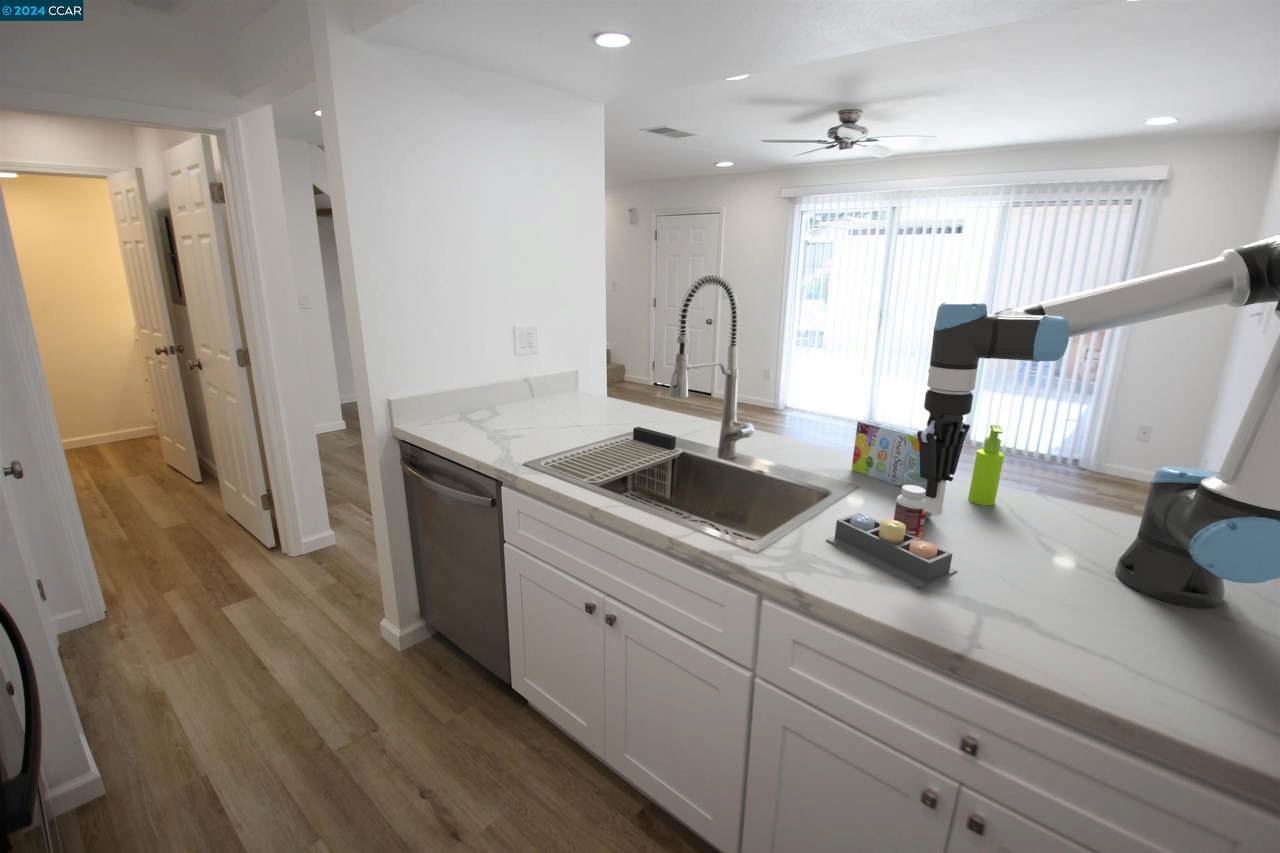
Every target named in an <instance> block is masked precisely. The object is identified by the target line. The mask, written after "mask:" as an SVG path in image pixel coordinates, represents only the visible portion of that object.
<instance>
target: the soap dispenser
mask: <svg viewBox="0 0 1280 853" xmlns="http://www.w3.org/2000/svg"><path fill="white" fill-rule="evenodd" d="M989 428H990V433H989V436H987V437H985V438H984V443H983V448H979V449H977V450H976V456H975V458H974V459H975V460H974V466H973V470H972V475H971V476H972V477H971V481H970V487H969V492H968V496H967V497H968V498H967V499H968V501H970V502H971V503H974V505H975V504H976V505H979V506H985V507H986V506H987V507H989V506H994V505H995V503H996V499H997V498H996V497H997V494H998V489H999V483H1000V477H1001V473H1002V470H1003V463H1004V459H1005V454H1004V452H1001V451H1000V449H1001V448H1000V447H1001V443H1002V440H1001V439H1000V438H999V434H1003V429H1002V427H1001V426H1000V425H994V424H990V426H989Z"/></svg>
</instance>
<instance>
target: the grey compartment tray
mask: <svg viewBox="0 0 1280 853" xmlns="http://www.w3.org/2000/svg"><path fill="white" fill-rule="evenodd" d="M853 515H864V516H866V515H865V514H862V513H860V512H859V513H858V512H856V513H855V514H852V515H848V516H845V517H841V518H839V519H836V523H835V533H834V536H831V537H828V538H826V539H825V540H826V542H828V543H830V544H832V545H834V546H836V547H838V548H839V549H842V550H844V551H846V552H848V553H849V554H852V555H854V556H855V557H857V558H858V559H861V560H863V561H865V562H867V563H869V564H871V565H873V566H875V567H877V568H879V569H881V570H883V571H884V572H887V573H889V574H890V575H893V576H894V577H897V578H898V579H900V580H902V581H904V582H906V583H908V584H910V585H912V586H914V587H915V588H918V589H923V588H924V587H927V586H929V585H931V584H934V583H935V582H938V581H940V580H943V579H945V578H947V577H950V576H951V575H954V574H956V573H958V569H955V568H953V567H951V566H952V558H953V552H950V551H948V550H946V549H943V548H940V547H939V546H936V545H935V546H936V547H937V549H938V550H937V556H936V557H935V558H932V559H930V560H927V559H925V558H922V557H920V556H918V555H916V554H914V553H912V552H909V548H910V543H911V542H913V541H924V542H926V541H925V540H922V538H921V539H918V538H916V537H914V536H911V535H909V534H907V533H905V536H904V542H903V543H901V544H898V545H894V544H892V543H890V542H888V541H886V540H883V539H881V538H879V537H878V535H879V528H880V522H881V521H879V520H877V519H875V518H873V519H874V520H875V524H874V529H871V530H869V531H864V530H862V529H860V528H857V527H855V526H853V525H851V524H850V521H851V517H852V516H853Z"/></svg>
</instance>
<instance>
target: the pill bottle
mask: <svg viewBox="0 0 1280 853" xmlns="http://www.w3.org/2000/svg"><path fill="white" fill-rule="evenodd" d="M900 492H901V493H902V495H901V494H900V495H898V496H897V498H896V501H895V508H894V515H893V520H896V521H899V522H902V523H903V524H905V526H906V530H905V533H907V534H909V535H911V536H914V537H916V538H918V539H921V540H922V537H923V534H924V527H925V521H926V519H925V516H926V511H923V510H924V503H925V499H924V497H925V493H926V490H925V489H924V488H922V487H919V486H915V485H904V486H903V487H901V491H900Z"/></svg>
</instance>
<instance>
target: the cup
mask: <svg viewBox="0 0 1280 853" xmlns="http://www.w3.org/2000/svg"><path fill="white" fill-rule="evenodd" d="M904 485H915V486H919V487H922V488H924V489H925V490H926V488H927V479H924V478H921V477H920V472H907V473H905V475H904V479H903V486H904ZM903 486H902V487H903ZM902 487H901V488H902ZM900 495H902V492H901V494H900ZM925 495H926V493H925ZM924 499H925V497H924ZM932 516H933V514H932V513H929V512H926V516H925V520H928V519H930V518H931V517H932Z"/></svg>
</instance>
